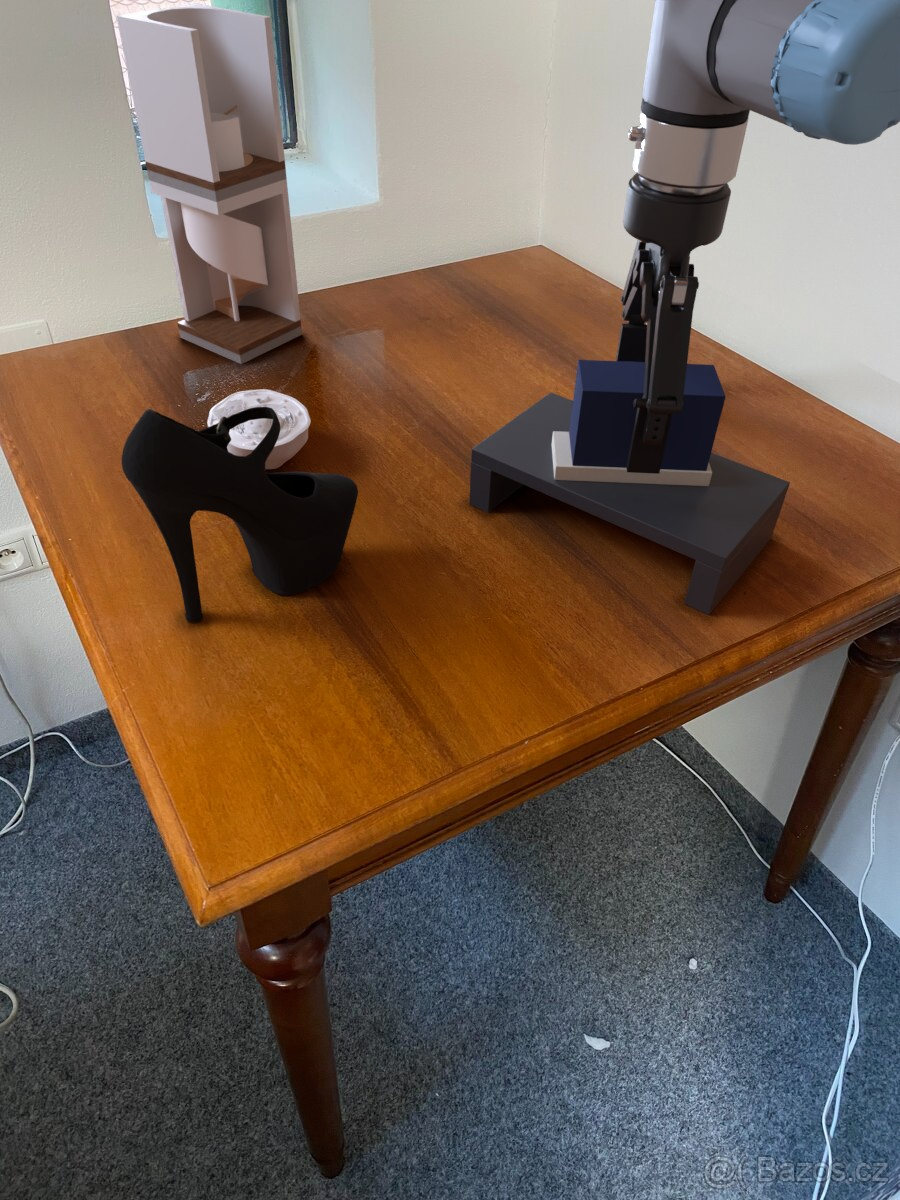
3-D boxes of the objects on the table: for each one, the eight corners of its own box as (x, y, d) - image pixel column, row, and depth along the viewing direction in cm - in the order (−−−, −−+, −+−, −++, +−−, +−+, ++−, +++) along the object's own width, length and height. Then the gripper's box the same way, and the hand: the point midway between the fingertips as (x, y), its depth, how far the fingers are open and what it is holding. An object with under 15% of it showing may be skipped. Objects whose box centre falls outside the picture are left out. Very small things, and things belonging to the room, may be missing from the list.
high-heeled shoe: (378, 562, 80) (368, 362, 67) (190, 656, 71) (135, 446, 58) (329, 521, 85) (310, 326, 71) (146, 605, 76) (85, 398, 62)
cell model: (296, 420, 99) (289, 365, 94) (325, 478, 90) (320, 420, 86) (205, 437, 96) (194, 381, 91) (226, 498, 87) (216, 439, 83)
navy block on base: (697, 450, 84) (719, 363, 78) (708, 486, 79) (732, 397, 73) (551, 444, 84) (561, 357, 78) (554, 480, 79) (564, 391, 73)
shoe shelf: (771, 537, 84) (790, 481, 80) (708, 615, 76) (726, 558, 72) (545, 445, 96) (550, 391, 91) (468, 504, 87) (471, 448, 83)
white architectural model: (180, 337, 113) (116, 15, 90) (241, 310, 119) (197, 3, 96) (241, 364, 108) (190, 30, 85) (302, 334, 114) (270, 16, 91)
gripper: (614, 129, 74) (582, 360, 88) (651, 239, 56) (604, 508, 70) (703, 132, 74) (657, 363, 88) (770, 244, 55) (698, 512, 70)
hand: (633, 428), depth 79 cm, fingers open, 13 cm apart
